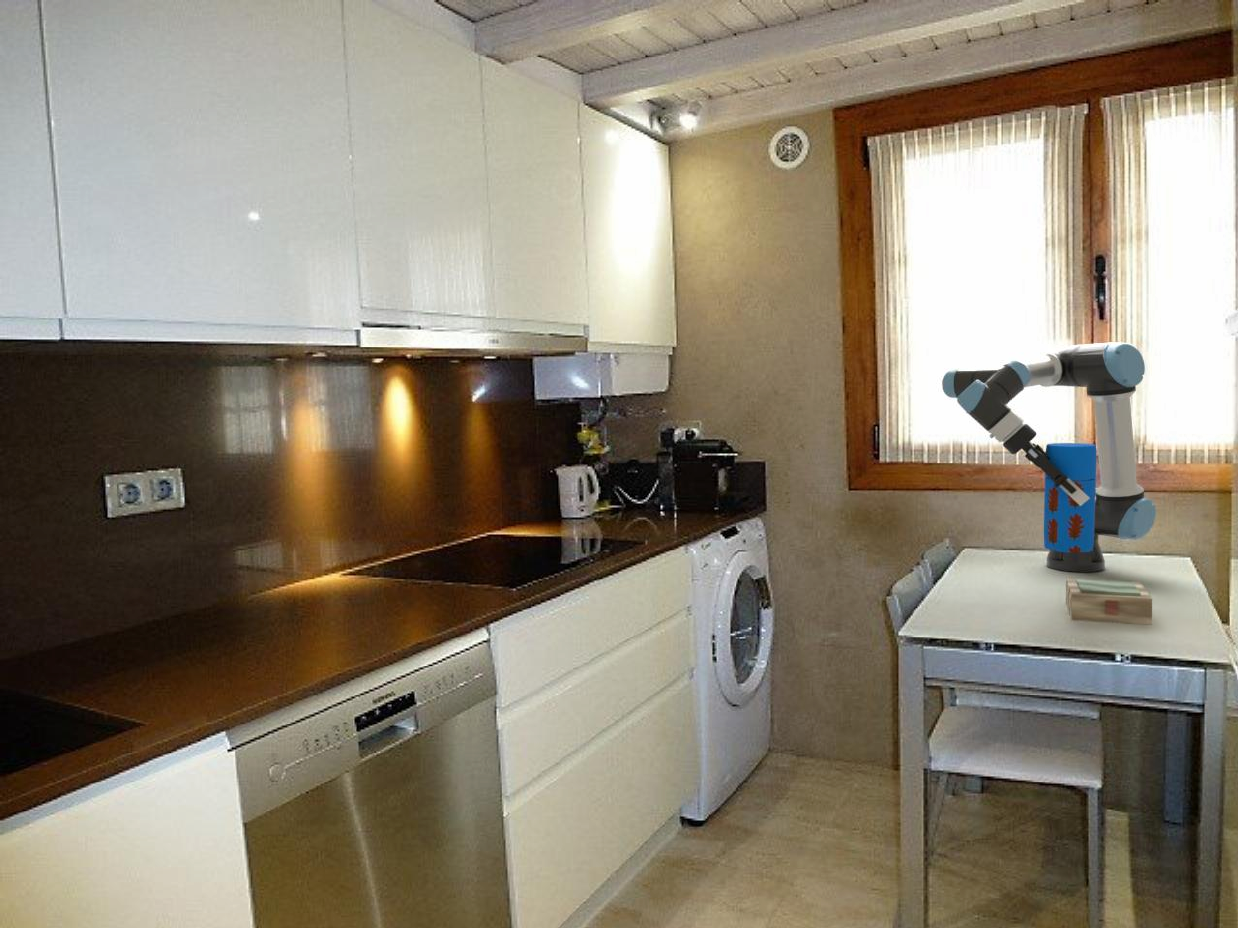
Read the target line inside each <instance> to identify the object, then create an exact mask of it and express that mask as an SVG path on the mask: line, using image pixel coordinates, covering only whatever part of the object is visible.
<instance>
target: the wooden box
mask: <svg viewBox="0 0 1238 928" xmlns="http://www.w3.org/2000/svg"><path fill="white" fill-rule="evenodd" d="M1065 605H1066V607H1067V610H1068V612H1069V613H1068V614H1069V615H1070V618H1071V621H1087V622H1101V623H1117V624H1118V623H1120V624H1134V625H1135V624H1137V625H1147V626H1148V625H1151V626H1152V624H1153V597H1152V596H1151V595H1150V593H1149V591H1147V589H1146V587H1144V585H1143V584H1142V583H1141V582H1135V581H1129V580H1128V581H1127V580H1104V579H1103V580H1101V579H1087V578H1085V579H1084V578H1075V579H1068V578H1066V579H1065Z"/></svg>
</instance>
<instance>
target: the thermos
mask: <svg viewBox="0 0 1238 928" xmlns="http://www.w3.org/2000/svg"><path fill="white" fill-rule="evenodd" d="M1045 447H1046V448H1045V451H1044V452H1045V454H1046V455H1047V456H1048V457H1049V458H1050V459H1049V461H1050V462H1051V463H1052V464H1053V465H1054V466H1055V467H1056V468H1057V469H1058V470H1059V471H1061V472H1062V473H1063V474H1064V475H1065V476H1066V477H1067V478H1069V479H1070V480H1071V481H1072V482H1073V483H1074V484H1075V485H1076V486H1078V487H1079V488H1080V489H1081V490H1082V491H1083V492H1084V493H1085V494H1086V495H1087V496H1088V497H1089V498H1090V499H1089V500H1087V501H1086V502H1085V503H1084V504H1083V505H1081V506H1080V505H1079V504H1078V503H1077V502H1076V501H1074V500H1073V499H1072V498H1071V497H1070V496H1069V495H1068V494H1067V493H1066V492H1065V491H1064V490H1063V489H1062V488H1061V487H1059V486H1058V487H1057V488H1056V487H1055V486H1054V485H1055V483H1054V481H1053V480H1052V479H1051V478H1050V477H1049V476H1048V475H1047V474H1046V473H1045V472H1044V495H1043V496H1044V502H1043V504H1044V505H1043V506H1044V507H1043V543H1044V544H1043V545H1044V548H1045V549H1046V550H1048V551H1049V550H1053V551H1060V552H1072V553H1082V552H1090V551H1092V550H1093V542H1094V527H1095V492H1096V488H1097V486H1096V484H1097V483H1096V481H1097V455H1098V454H1097V452H1098V450H1097V445H1096V444H1092V443H1081V442H1080V443H1078V442H1076V443H1075V442H1067V443H1066V442H1063V443H1062V442H1059V443H1058V442H1057V443H1054V442H1053V443H1047V444H1046V446H1045Z"/></svg>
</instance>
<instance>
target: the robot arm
mask: <svg viewBox="0 0 1238 928" xmlns="http://www.w3.org/2000/svg"><path fill="white" fill-rule="evenodd" d="M1145 367H1146V366H1145V360H1144V357H1143V355H1142V353H1141V351H1140V350H1139V349H1138V348H1137V347H1136V346H1134V345H1133V344H1132V343H1128V342H1115V341H1113V342H1111V341H1110V342H1104V343H1103V342H1102V343H1090V344H1089V343H1088V344H1075V345H1071V346H1070V345H1069V346H1067V347H1066V346H1065V347H1061V348H1058V349H1054V350H1050V351H1043V352H1040V353H1039V354H1037V355H1036V356H1035V357H1032V358H1026V359H1021V360H1017V359H1016V360H1015V359H1010V360H1008V361H1007V362H1002V363H996V364H991V365H983V366H978V367H973V368H972V367H971V368H965V369H963V368H962V369H960V368H957V369H952V370H949V371H947V372H946V373H945V374H944V376H943V378H942V382H941V385H942V390H943V393H944V394H945V396H947V397H948V398H951V399H952V398H953V399H956V402H957V403H958V405H959V406H960V408H962V409H963V410H964V411H965V412H966V414H968V415H969V416H970V417H971V418H972V419H973V420H975V421H976V423H978V424H979V425H980V426H981V427H982V428H983V429H984V430H985V431H987V432H988V433H989V434H990V435H989V438H990V439H993V438H995V440H997V441H998V443H1002V442H1003V443H1002V446H1003V447H1004V449H1005V450H1006V451H1008V452H1009V453H1010V454H1011V455H1016V454H1017V453H1019V452H1020V451H1021V450H1022V451H1023V452H1025V453H1026V454H1025V455H1024V457H1025V458H1026V459H1027V460H1029V461H1030V462H1032V463H1033V464H1034V466H1036V467H1037V468H1040V469H1041V471H1043V472H1044V474H1045V473H1046V474H1047V475H1048V476H1049V477H1050V478H1051V479H1052V480H1053V481H1054V483H1055V485H1054V486H1055V487H1056V488H1057V487H1058V486H1059V487H1061V488H1062V489H1063V490H1064V491H1065V492H1066V493H1067V494H1068V495H1069V496H1070V497H1071V498H1072V499H1073V500H1074V501H1076V502H1077V503H1078V504H1079V505H1080V506H1081V505H1083V504H1084V503H1085V502H1086V501H1087V500H1089V499H1090V498H1089V497H1088V496H1087V495H1086V494H1085V493H1084V492H1083V491H1082V490H1081V489H1080V488H1079V487H1078V486H1076V485H1075V484H1074V483H1073V482H1072V481H1071V480H1070V479H1069V478H1067V477H1066V476H1065V475H1064V474H1063V473H1062V472H1061V471H1059V470H1058V469H1057V468H1056V467H1055V466H1054V465H1053V464H1052V463H1051V462H1050V461H1049V459H1050V458H1049V457H1048V456H1047V455H1046V454H1045V452H1046V451H1045V450H1044V449H1043V447H1041V445H1039V444H1035V443H1033V442H1031V441H1032V440H1033V439H1034V438H1035V437H1036V436H1037V431H1035V430H1034V429H1033V428H1032V427H1031V426H1030V425H1029V424H1028V423H1024V419H1022V417H1020V416H1019V414H1018V413H1016V412H1015V411H1014V410H1013V409H1011V408H1010V407H1009V405H1008V404H1009V403H1010V401H1012V400H1013V399H1014V398H1015V397H1016V396H1018V395H1019V394H1020V393H1021V392H1022V391H1024V390H1025V388H1028V387H1034V386H1041V387H1045V388H1048V387H1053V386H1054V387H1055V386H1057V387H1059V386H1061V387H1076V388H1077V387H1078V388H1086V396H1087V397H1088V398H1089V399H1091V400H1092V401H1093V404H1094V406H1093V407H1094V417H1095V418H1094V419H1095V430H1096V440H1097V441H1096V442H1097V452H1098V454H1097V455H1098V461H1099V462H1098V463H1099V474H1100V476H1099V477H1100V486H1099V487H1096V492H1095V527H1094V542H1093V550H1092V551H1090V552H1082V553H1072V552H1060V551H1053V550H1049V549H1048V553H1047V556H1046V566H1047V567H1048V568H1050V569H1052V570H1053V569H1054V570H1057V571H1058V570H1059V571H1065V572H1079V573H1088V572H1089V573H1092V572H1094V573H1095V572H1100V571H1104V570H1105V566H1106V562H1105V557H1104V555H1103V551H1102V550H1101V546H1100V543H1099V536H1104V537H1111V538H1116V539H1117V538H1118V539H1120V540H1141V539H1142V538H1144V537H1145V536H1147V535H1148V534H1149V533H1150V531H1151V529H1152V528H1153V526H1154V524H1155V522H1156V521H1155V520H1156V515H1157V508H1156V504H1155V503H1154V502H1153V500H1152V499H1150V498H1148V497H1145V489H1144V487H1142V486H1141V485H1140V484H1138V479H1137V469H1136V467H1137V466H1136V458H1135V457H1136V456H1135V445H1134V444H1135V443H1134V442H1135V441H1134V431H1133V430H1134V429H1133V419H1132V407H1131V406H1132V405H1131V397H1132V395H1133V394H1135V392H1136V391H1137V387H1136V386H1138V385H1140V384H1141V382H1142V381H1143V380H1144V376H1145V371H1146V368H1145Z"/></svg>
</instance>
